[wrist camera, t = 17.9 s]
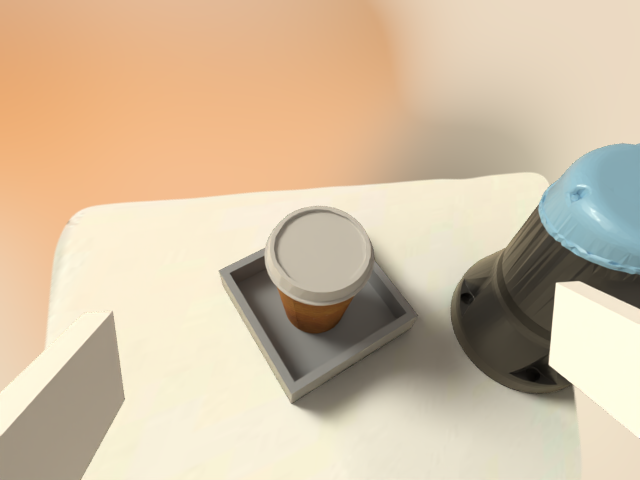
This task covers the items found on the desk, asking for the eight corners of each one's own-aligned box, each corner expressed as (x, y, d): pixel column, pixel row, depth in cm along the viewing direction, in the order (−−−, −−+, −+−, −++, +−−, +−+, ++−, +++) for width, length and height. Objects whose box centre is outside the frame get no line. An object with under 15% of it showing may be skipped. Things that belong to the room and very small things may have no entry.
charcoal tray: (334, 229, 55) (336, 212, 52) (410, 328, 49) (418, 315, 46) (222, 285, 50) (218, 270, 47) (291, 403, 44) (291, 394, 41)
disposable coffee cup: (263, 345, 46) (256, 292, 36) (275, 262, 52) (271, 196, 41) (357, 353, 46) (376, 303, 36) (360, 270, 52) (377, 206, 41)
